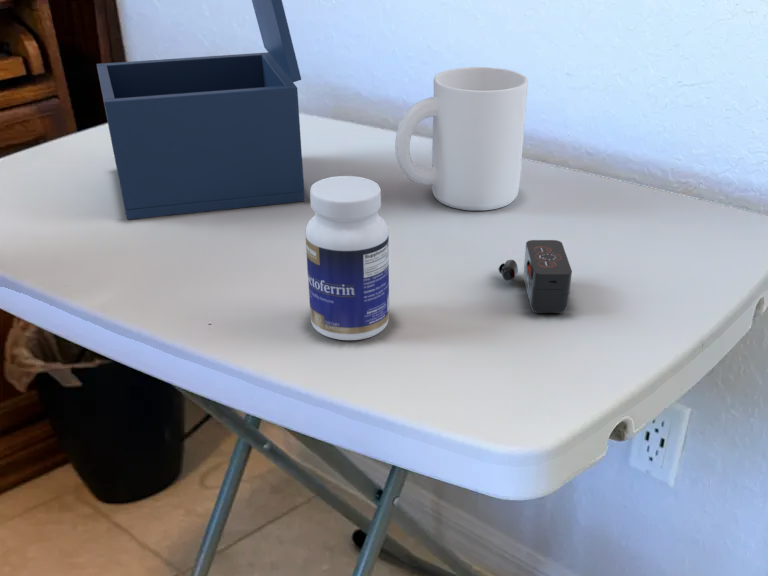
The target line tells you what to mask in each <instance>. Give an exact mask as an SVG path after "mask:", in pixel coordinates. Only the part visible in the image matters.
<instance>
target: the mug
mask: <svg viewBox="0 0 768 576" xmlns="http://www.w3.org/2000/svg"><path fill="white" fill-rule="evenodd" d="M528 87H529V80H528V78H527V76H526V75H524V74H522V73H520V72H518V71H514V70H510V69H506V68H500V67H488V66H466V67H457V68H452V69H451V68H450V69H446V70H444V71H443V70H442V71H441V72H438V73H436V74H435V75H434V77H433V96H430V97H427V98H424V99H422V100H419V101H418V102H416V103H414V104H413V105H412V106H411V107H410V108H408V110H407V111H406V112H405V113H404V115H403V116H402V118H401V120H400V122H399V124H398V126H397V130H396V133H395V141H394V142H395V143H394V149H395V155H396V162H397V164H398V166H399V169H400V170H401V172H402V174H403V175H405V177H406V178H408V179H409V180H410V181H412V182H414V183H416V184H419V185H426V186H427V185H428V186H429V185H431V190H432V191H431V192H432V194H433V196H434V198H435V199H436V200H437V201H438V202H439V203H441V204H442V205H444V206H447V207H450V208H453V209H457V210H462V211H475V212H476V211H477V212H480V211H492V210H498V209H500V208H501V209H502V208H504V207H506V206H508V205H510V204H512V202H514V201H515V200H516V198H517V196H518V194H519V189H520V184H521V173H522V161H523V148H524V134H525V122H526V112H527V111H526V110H527V98H528ZM428 118H432V137H431V138H432V141H431V142H432V143H431V144H432V145H431V167H426V168H425V167H420V166H417V164H416V163H415V162H414V160H413V159H412V155H411V154H412V153H411V139H412V135H413V133H414V131H415V128H416V127H417V126H418V124H419V123H420V122H422V121H423V120H425V119H428Z"/></svg>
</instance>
